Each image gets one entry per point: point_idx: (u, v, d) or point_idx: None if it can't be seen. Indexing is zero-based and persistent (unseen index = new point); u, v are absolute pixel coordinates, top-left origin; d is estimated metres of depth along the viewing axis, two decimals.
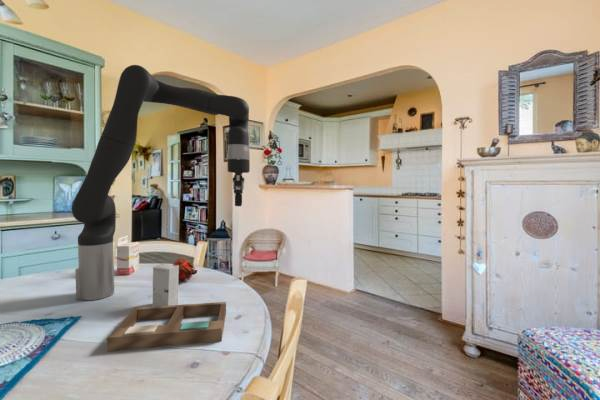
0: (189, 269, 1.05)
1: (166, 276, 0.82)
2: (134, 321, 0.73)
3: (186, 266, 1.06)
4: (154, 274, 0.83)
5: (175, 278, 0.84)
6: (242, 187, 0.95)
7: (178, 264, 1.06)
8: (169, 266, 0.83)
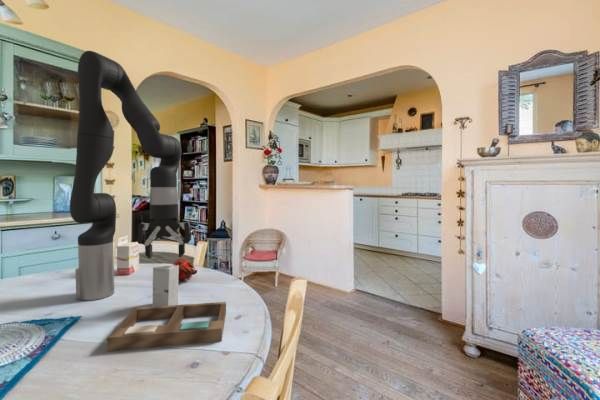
0: (189, 269, 1.05)
1: (166, 276, 0.82)
2: (134, 321, 0.73)
3: (186, 266, 1.06)
4: (154, 274, 0.83)
5: (175, 278, 0.84)
6: (180, 234, 0.86)
7: (178, 264, 1.06)
8: (169, 266, 0.83)
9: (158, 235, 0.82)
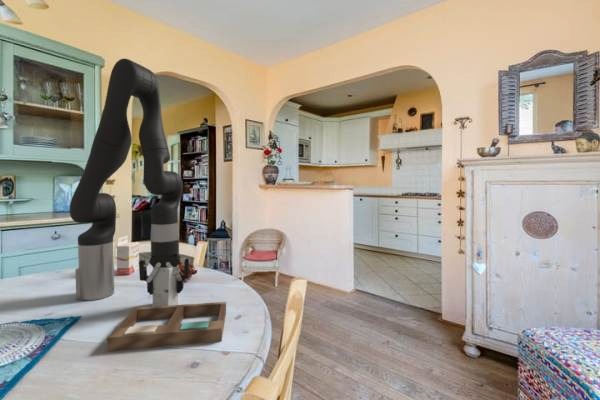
0: None
1: (166, 276, 0.82)
2: (134, 321, 0.73)
3: None
4: None
5: (175, 278, 0.84)
6: None
7: (178, 264, 1.06)
8: None
9: None
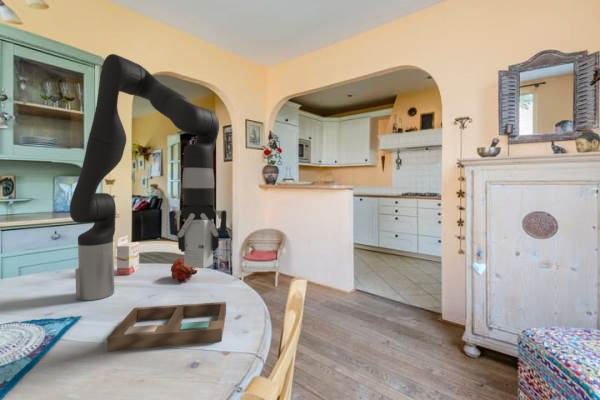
0: (189, 269, 1.05)
1: (201, 229, 0.70)
2: (134, 321, 0.73)
3: (186, 266, 1.06)
4: None
5: (210, 233, 0.72)
6: (214, 225, 0.74)
7: (178, 264, 1.06)
8: None
9: None
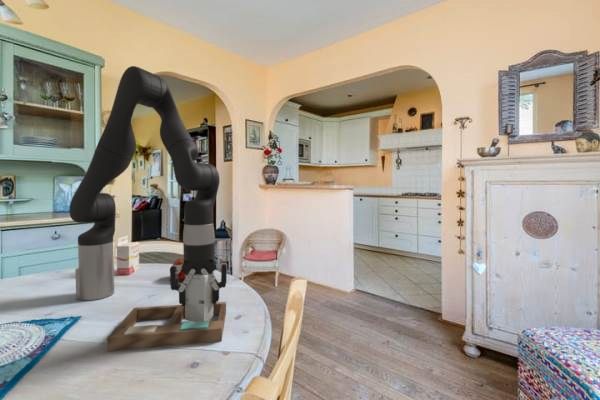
0: None
1: (202, 285, 0.70)
2: (134, 321, 0.73)
3: None
4: None
5: (210, 287, 0.73)
6: None
7: (178, 264, 1.06)
8: None
9: None
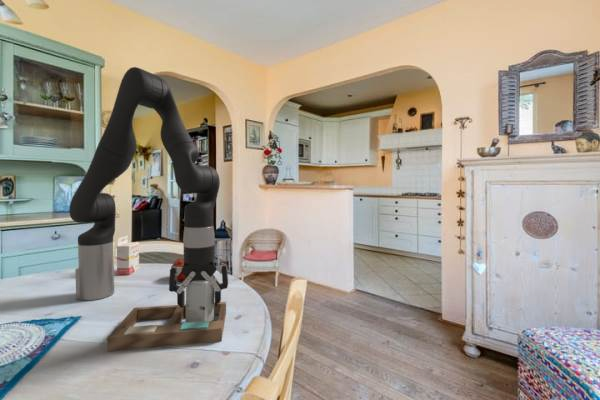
0: None
1: (203, 291, 0.71)
2: (134, 321, 0.73)
3: None
4: (187, 288, 0.72)
5: (211, 293, 0.73)
6: (216, 279, 0.75)
7: (178, 264, 1.06)
8: None
9: None
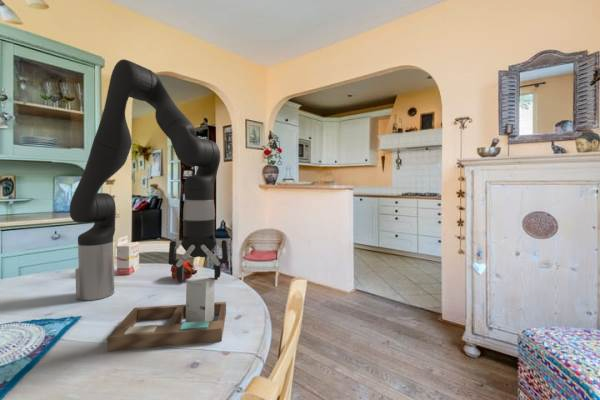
0: (189, 269, 1.05)
1: (203, 291, 0.71)
2: (134, 321, 0.73)
3: (186, 266, 1.06)
4: (187, 288, 0.72)
5: (211, 292, 0.73)
6: (216, 254, 0.75)
7: None
8: (205, 279, 0.72)
9: (192, 255, 0.71)
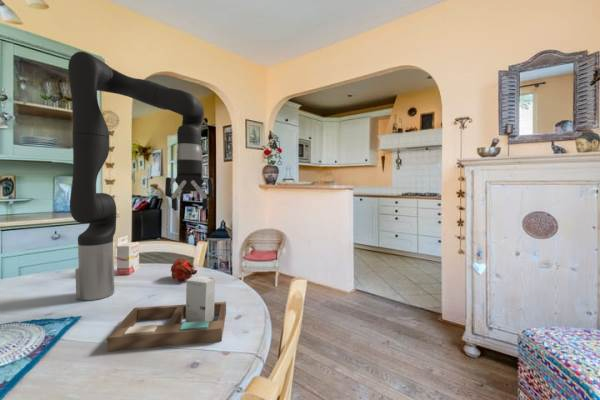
0: (189, 269, 1.05)
1: (203, 291, 0.71)
2: (134, 321, 0.73)
3: (186, 266, 1.06)
4: (187, 288, 0.72)
5: (212, 293, 0.73)
6: (203, 190, 0.92)
7: (178, 264, 1.06)
8: (205, 279, 0.72)
9: (184, 189, 0.88)
